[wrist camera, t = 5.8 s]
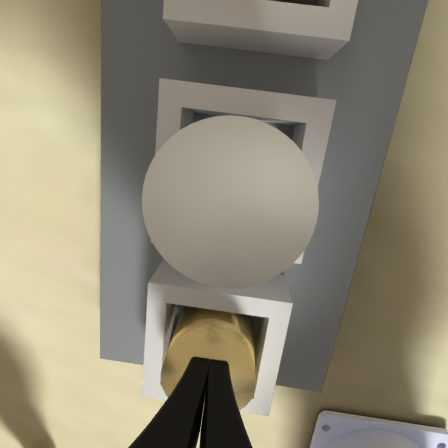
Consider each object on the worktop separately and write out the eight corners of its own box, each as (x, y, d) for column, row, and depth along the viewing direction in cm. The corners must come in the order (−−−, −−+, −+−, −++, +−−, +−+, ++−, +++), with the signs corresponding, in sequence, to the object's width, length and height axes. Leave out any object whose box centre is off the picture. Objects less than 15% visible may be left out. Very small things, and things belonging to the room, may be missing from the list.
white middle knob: (279, 239, 10) (299, 299, 7) (177, 224, 11) (138, 276, 7) (299, 130, 9) (337, 128, 6) (185, 116, 10) (145, 103, 6)
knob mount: (313, 364, 18) (334, 436, 14) (115, 334, 18) (75, 396, 14) (431, -103, 12) (541, -242, 7) (125, -135, 12) (58, -286, 8)
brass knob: (247, 353, 16) (248, 424, 12) (178, 343, 16) (157, 410, 12) (258, 292, 15) (262, 348, 11) (184, 282, 15) (163, 334, 11)
